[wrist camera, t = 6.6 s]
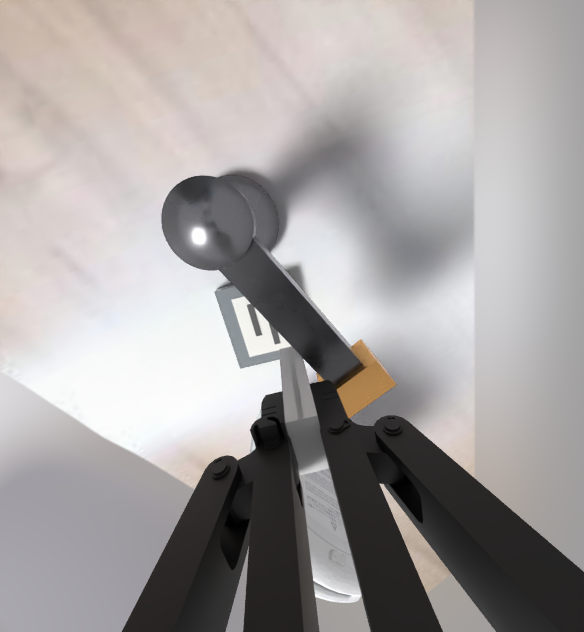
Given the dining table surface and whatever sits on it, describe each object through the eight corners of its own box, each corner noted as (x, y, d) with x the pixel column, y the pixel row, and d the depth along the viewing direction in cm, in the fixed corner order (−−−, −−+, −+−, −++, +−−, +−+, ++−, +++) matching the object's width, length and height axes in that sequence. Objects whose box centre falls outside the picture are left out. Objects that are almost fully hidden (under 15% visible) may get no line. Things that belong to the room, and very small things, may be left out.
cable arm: (164, 220, 15) (139, 220, 12) (218, 165, 14) (205, 152, 11) (332, 394, 19) (342, 423, 16) (381, 358, 18) (399, 382, 15)
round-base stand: (180, 188, 20) (138, 174, 14) (266, 167, 20) (261, 143, 14) (209, 274, 22) (183, 294, 16) (287, 254, 22) (291, 268, 16)
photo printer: (246, 421, 27) (223, 572, 16) (275, 392, 26) (275, 529, 15) (321, 473, 30) (350, 635, 18) (350, 448, 29) (400, 601, 17)
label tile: (217, 288, 23) (213, 292, 22) (288, 271, 23) (289, 273, 22) (241, 362, 25) (240, 369, 24) (306, 347, 25) (308, 353, 24)
